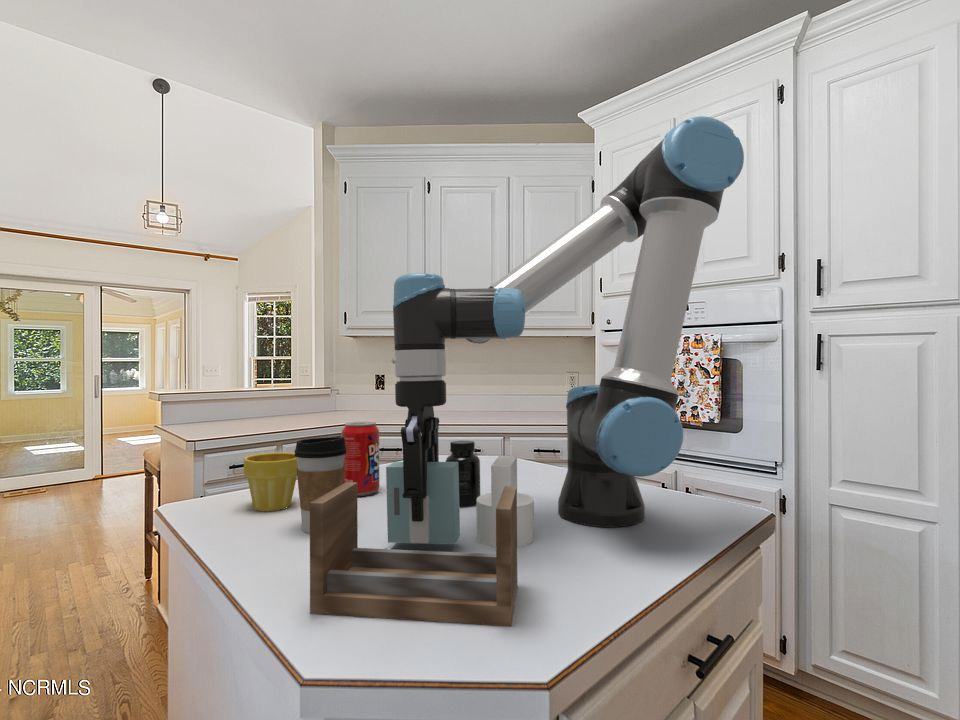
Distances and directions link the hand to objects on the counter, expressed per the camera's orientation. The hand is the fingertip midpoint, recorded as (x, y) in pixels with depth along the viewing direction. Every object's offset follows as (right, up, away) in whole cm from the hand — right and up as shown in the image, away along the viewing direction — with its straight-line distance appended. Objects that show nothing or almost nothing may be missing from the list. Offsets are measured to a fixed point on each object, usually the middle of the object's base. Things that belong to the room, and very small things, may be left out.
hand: (423, 536), depth 75 cm
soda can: (-17, -2, +33) cm, 37 cm away
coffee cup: (-18, -2, +9) cm, 21 cm away
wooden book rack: (+1, -1, -16) cm, 17 cm away
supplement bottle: (+5, -2, +24) cm, 25 cm away
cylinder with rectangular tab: (+12, -2, +4) cm, 13 cm away
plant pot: (-32, -2, +22) cm, 39 cm away
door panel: (0, 0, 0) cm, 0 cm away
